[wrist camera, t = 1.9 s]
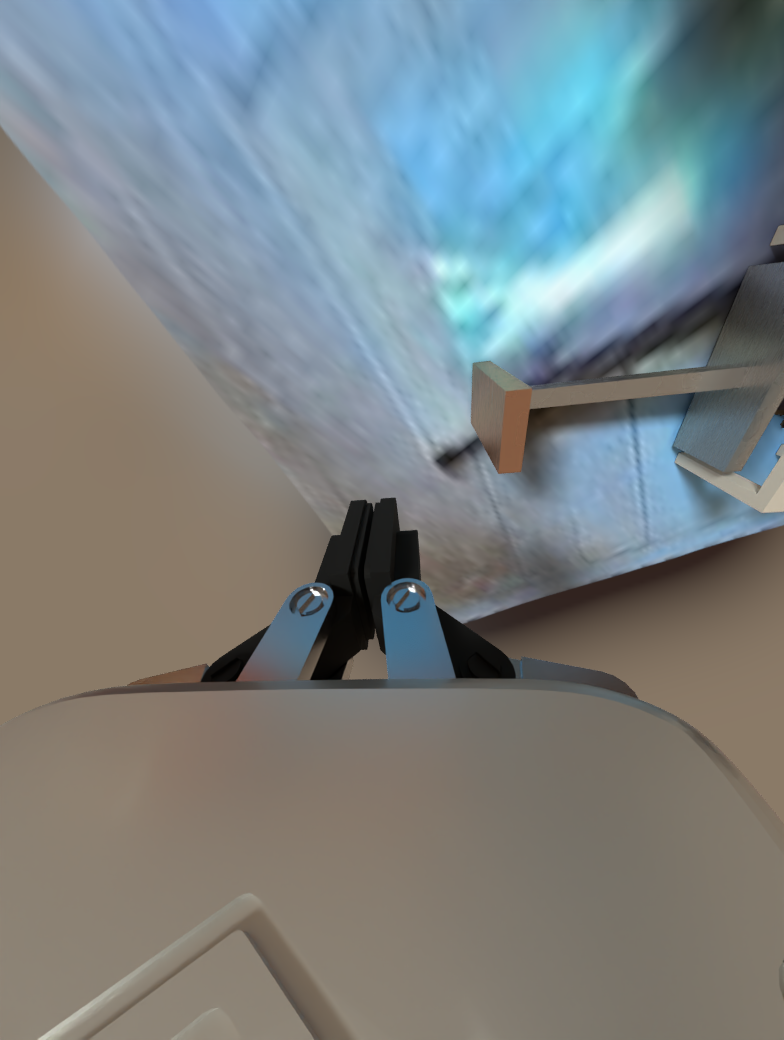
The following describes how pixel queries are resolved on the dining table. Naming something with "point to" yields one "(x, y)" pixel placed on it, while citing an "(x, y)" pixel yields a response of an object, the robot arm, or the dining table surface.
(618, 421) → the dining table surface
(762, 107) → the dining table surface
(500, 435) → the rod with wooden block
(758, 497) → the white slatted rack
